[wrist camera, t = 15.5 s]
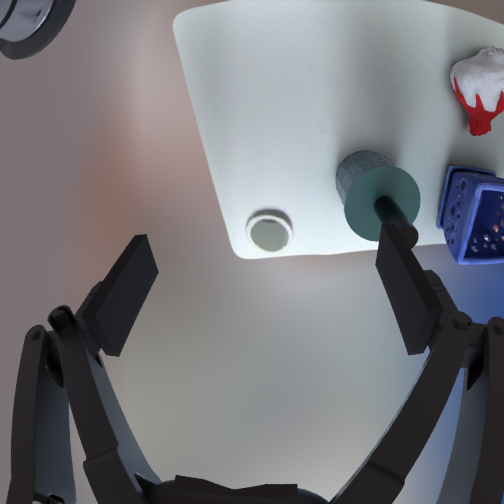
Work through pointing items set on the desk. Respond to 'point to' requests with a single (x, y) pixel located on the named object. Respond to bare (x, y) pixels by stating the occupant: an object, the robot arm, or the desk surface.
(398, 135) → the desk surface
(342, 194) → the pot
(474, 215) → the flower pot
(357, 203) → the lid
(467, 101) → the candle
